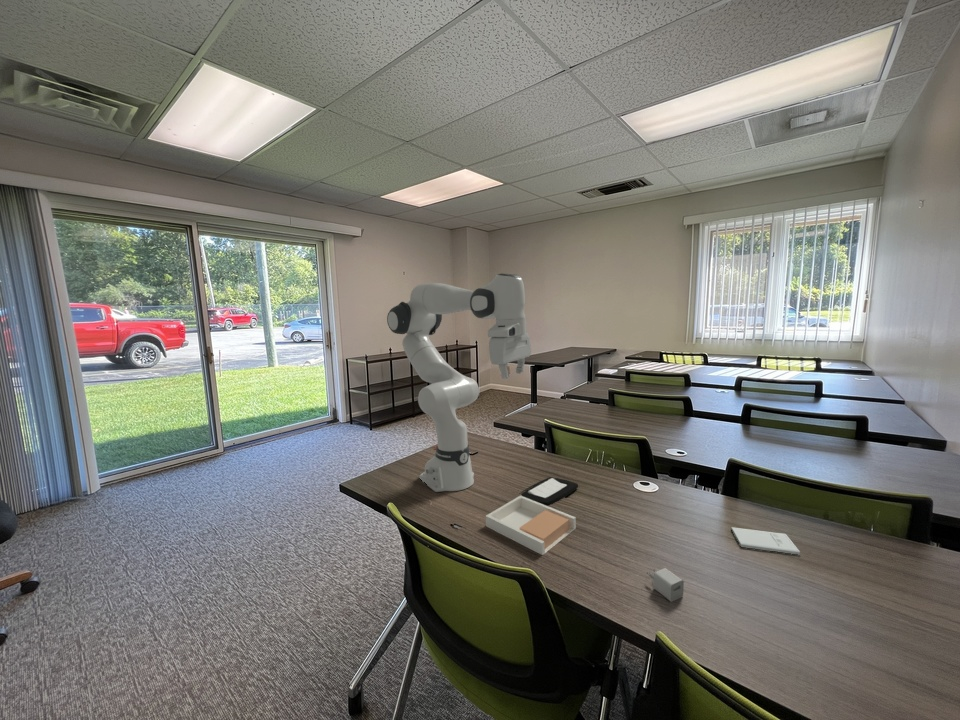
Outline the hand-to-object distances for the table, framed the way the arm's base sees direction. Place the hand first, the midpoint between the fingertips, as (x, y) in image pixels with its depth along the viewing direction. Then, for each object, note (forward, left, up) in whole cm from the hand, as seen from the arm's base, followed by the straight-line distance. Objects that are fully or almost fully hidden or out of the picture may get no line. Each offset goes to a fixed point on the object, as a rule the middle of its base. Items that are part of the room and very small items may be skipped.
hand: (512, 375), depth 112 cm
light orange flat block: (+13, -5, -43) cm, 45 cm away
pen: (-2, -17, -44) cm, 47 cm away
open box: (+8, -5, -44) cm, 45 cm away
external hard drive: (+57, +30, -44) cm, 79 cm away
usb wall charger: (+44, -4, -44) cm, 63 cm away
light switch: (-1, +17, -44) cm, 48 cm away
